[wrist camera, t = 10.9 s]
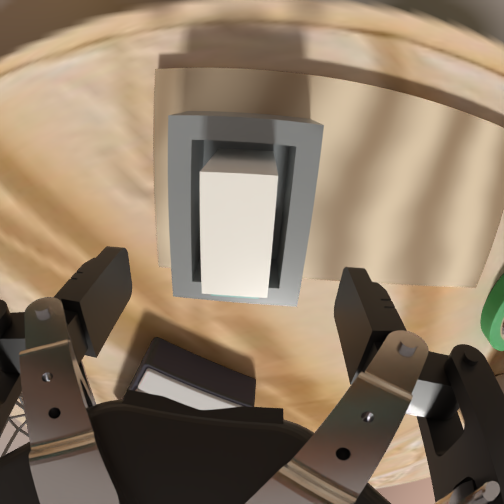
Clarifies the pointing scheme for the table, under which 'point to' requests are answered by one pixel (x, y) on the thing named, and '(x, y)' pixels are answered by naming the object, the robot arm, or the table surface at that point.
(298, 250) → the end holder
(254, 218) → the white block
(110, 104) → the table surface
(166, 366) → the calculator
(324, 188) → the beige mat
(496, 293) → the tape roll
